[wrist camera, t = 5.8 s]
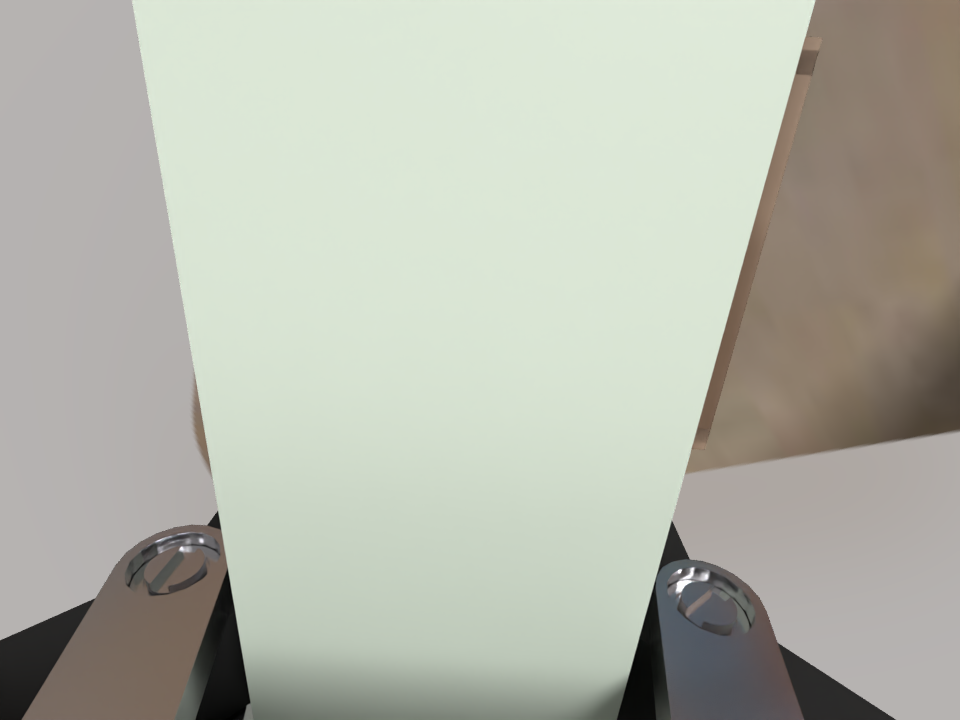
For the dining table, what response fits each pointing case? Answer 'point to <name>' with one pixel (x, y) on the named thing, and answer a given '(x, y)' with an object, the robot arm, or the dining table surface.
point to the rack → (758, 233)
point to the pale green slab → (456, 323)
